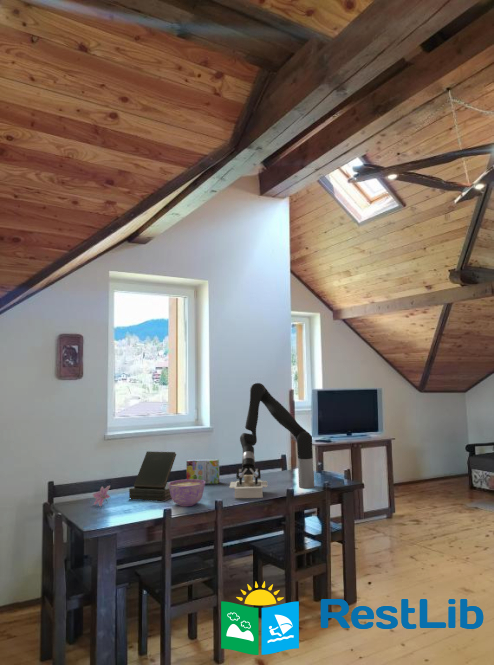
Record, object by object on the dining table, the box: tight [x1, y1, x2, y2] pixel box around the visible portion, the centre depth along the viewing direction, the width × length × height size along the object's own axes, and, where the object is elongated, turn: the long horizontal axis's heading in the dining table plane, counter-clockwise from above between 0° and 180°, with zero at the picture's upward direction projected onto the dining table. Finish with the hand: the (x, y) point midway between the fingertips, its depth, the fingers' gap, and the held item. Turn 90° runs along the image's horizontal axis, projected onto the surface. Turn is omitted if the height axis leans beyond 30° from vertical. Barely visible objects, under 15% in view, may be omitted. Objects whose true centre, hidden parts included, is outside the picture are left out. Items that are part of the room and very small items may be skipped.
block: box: [243, 475, 254, 487], centre depth 276 cm, size 5×5×11 cm
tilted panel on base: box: [128, 451, 177, 502], centre depth 280 cm, size 23×20×25 cm
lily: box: [92, 485, 111, 507], centre depth 263 cm, size 12×12×10 cm
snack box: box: [186, 458, 220, 485], centre depth 314 cm, size 21×6×15 cm, turn 84°
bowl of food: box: [167, 478, 206, 507], centre depth 257 cm, size 20×20×12 cm
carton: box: [229, 479, 268, 499], centre depth 276 cm, size 22×22×6 cm
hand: (248, 484), depth 275 cm, fingers open, 8 cm apart
